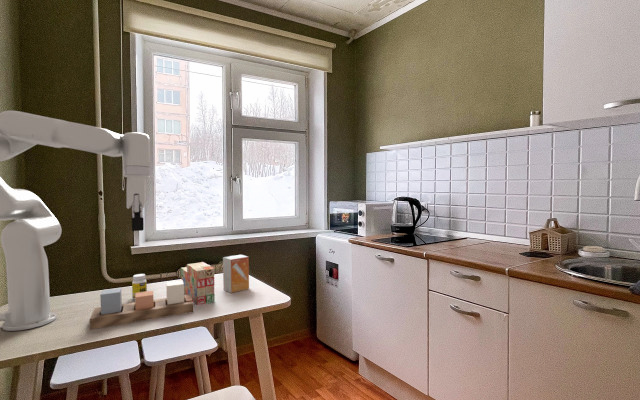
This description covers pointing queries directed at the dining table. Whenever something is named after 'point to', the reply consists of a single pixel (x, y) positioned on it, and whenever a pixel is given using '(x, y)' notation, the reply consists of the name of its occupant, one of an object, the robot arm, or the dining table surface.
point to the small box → (236, 273)
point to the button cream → (175, 292)
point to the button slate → (111, 301)
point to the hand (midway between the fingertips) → (137, 230)
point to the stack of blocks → (199, 282)
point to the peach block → (144, 300)
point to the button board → (140, 313)
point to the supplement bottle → (139, 284)
